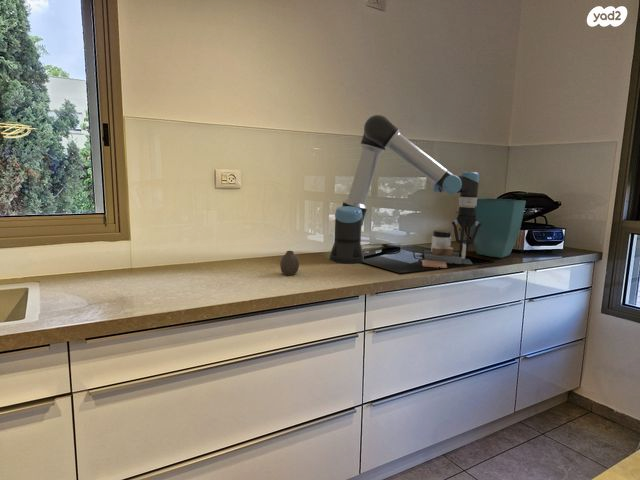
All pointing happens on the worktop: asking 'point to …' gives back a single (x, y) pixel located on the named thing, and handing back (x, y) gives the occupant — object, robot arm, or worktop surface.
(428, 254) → the channel
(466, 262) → the trap mat
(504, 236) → the flower pot
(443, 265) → the block
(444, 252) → the block
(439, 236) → the jar
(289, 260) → the vase
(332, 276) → the worktop surface
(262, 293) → the worktop surface
